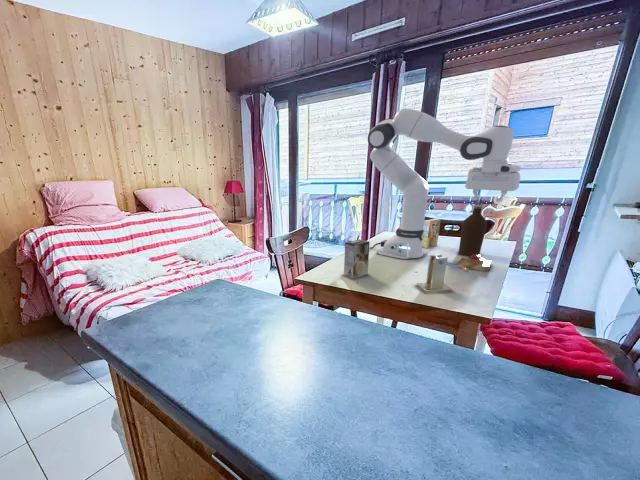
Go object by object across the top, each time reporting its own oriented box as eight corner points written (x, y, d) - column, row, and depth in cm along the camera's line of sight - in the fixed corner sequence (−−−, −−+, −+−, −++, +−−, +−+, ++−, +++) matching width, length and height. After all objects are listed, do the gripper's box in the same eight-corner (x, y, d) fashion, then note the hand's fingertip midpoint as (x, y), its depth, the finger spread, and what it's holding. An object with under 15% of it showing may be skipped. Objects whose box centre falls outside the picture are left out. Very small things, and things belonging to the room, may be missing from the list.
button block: (457, 267, 154) (459, 259, 153) (461, 261, 161) (462, 253, 160) (487, 271, 147) (489, 263, 146) (490, 265, 154) (492, 257, 153)
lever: (458, 269, 133) (461, 263, 132) (466, 273, 128) (470, 268, 127) (429, 260, 131) (432, 255, 131) (436, 264, 126) (439, 259, 125)
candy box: (430, 244, 193) (434, 218, 187) (437, 245, 189) (441, 219, 183) (420, 246, 189) (424, 220, 183) (426, 248, 186) (430, 221, 180)
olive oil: (468, 258, 166) (478, 208, 156) (452, 252, 175) (460, 205, 166) (485, 255, 168) (496, 206, 158) (469, 250, 177) (478, 203, 168)
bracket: (440, 284, 137) (446, 252, 131) (451, 291, 129) (457, 258, 124) (416, 285, 137) (421, 254, 132) (425, 293, 130) (430, 260, 124)
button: (470, 259, 153) (471, 255, 152) (471, 257, 155) (472, 253, 155) (479, 260, 151) (480, 256, 150) (480, 258, 153) (481, 255, 153)
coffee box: (357, 271, 157) (360, 239, 151) (367, 275, 152) (370, 241, 145) (343, 275, 153) (344, 242, 147) (352, 279, 148) (354, 245, 142)
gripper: (465, 167, 146) (459, 199, 151) (517, 167, 129) (509, 203, 134) (473, 166, 149) (468, 197, 154) (525, 166, 132) (517, 201, 137)
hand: (487, 200), depth 144 cm, fingers open, 8 cm apart
